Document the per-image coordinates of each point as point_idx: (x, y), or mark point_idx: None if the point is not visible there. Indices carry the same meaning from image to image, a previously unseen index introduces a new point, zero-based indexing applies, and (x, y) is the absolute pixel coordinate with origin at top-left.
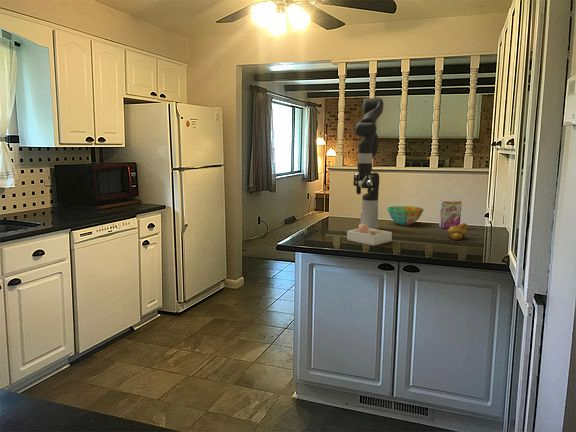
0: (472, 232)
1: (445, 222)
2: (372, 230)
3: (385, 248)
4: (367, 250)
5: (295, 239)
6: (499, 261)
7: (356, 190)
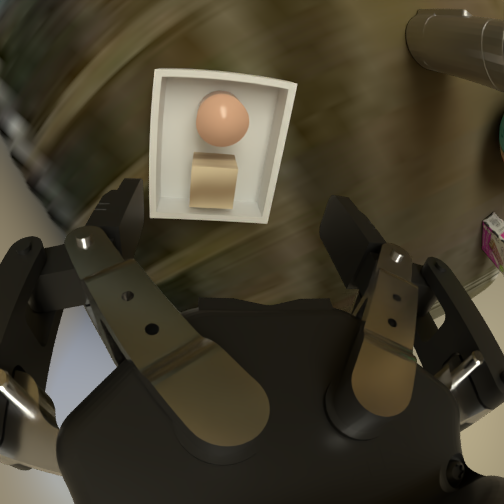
0: None
1: (490, 236)
2: (206, 177)
3: (155, 243)
4: None
5: None
6: None
7: (96, 208)
